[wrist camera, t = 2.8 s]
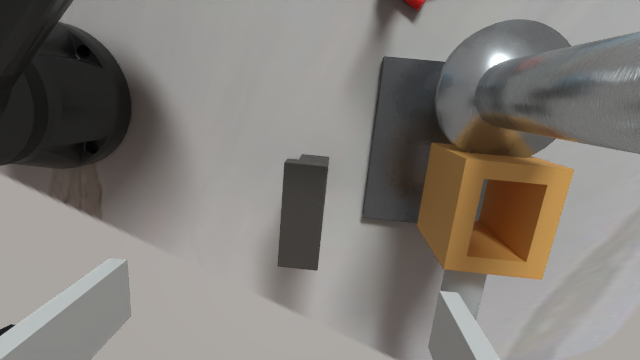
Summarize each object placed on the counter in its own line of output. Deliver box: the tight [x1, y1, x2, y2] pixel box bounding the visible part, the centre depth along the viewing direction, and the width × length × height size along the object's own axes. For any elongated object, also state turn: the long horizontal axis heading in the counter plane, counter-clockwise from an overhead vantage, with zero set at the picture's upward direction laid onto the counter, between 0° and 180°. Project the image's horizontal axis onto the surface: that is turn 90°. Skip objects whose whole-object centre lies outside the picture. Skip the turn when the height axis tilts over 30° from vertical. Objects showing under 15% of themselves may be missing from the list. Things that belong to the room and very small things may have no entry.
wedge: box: [278, 154, 329, 270], centre depth 30 cm, size 3×8×14 cm, turn 175°
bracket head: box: [417, 143, 574, 320], centre depth 28 cm, size 7×18×8 cm, turn 175°
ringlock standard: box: [363, 20, 640, 223], centre depth 22 cm, size 16×19×27 cm
